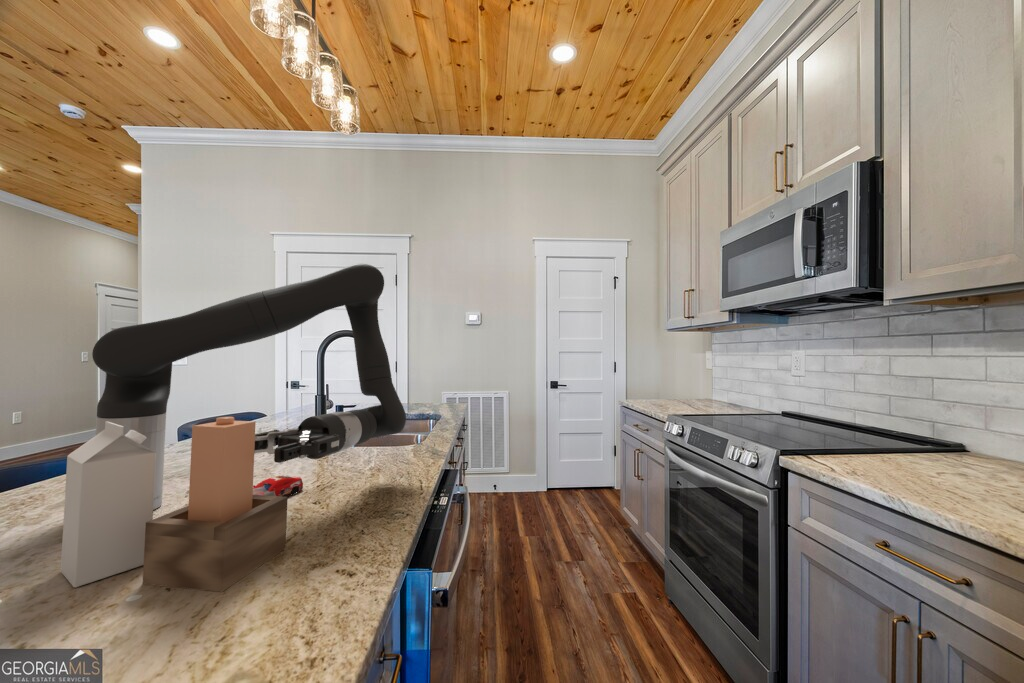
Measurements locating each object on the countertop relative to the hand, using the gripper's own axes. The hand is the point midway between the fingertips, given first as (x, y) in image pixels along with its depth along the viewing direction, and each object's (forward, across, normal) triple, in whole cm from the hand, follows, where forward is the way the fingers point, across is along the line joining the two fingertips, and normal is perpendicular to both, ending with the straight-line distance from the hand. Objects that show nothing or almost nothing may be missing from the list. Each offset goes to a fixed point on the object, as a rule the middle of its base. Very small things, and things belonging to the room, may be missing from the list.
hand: (253, 453), depth 59 cm
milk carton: (+9, -13, +14) cm, 22 cm away
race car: (-17, -15, +14) cm, 27 cm away
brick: (+4, 0, +8) cm, 9 cm away
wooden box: (+4, 0, +14) cm, 15 cm away
